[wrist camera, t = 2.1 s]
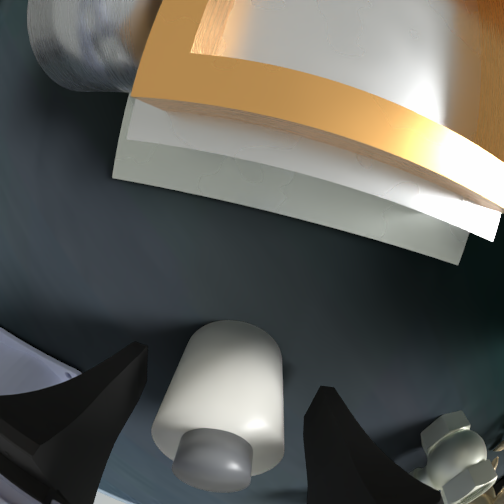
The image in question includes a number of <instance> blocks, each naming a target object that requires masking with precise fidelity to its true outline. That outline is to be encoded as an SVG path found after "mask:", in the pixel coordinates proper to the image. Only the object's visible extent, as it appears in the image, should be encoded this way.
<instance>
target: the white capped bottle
mask: <svg viewBox="0 0 504 504" xmlns="http://www.w3.org/2000/svg"><path fill="white" fill-rule="evenodd" d="M151 432H152V437H153V440H154V442H155V444H156V445H157V447H158V448H159V449H160V450H161V451H162V452H163V453H164V454H165V455H166V456H167V457H168V458H170V459H171V460H173V461H174V462H173V465H172V471H173V473H174V475H175V476H176V477H177V478H178V479H180V480H181V481H183V482H184V483H186V484H188V485H190V486H193V487H196V488H199V489H202V490H206V491H212V492H235V491H240V490H242V489H245V488H246V487H248V486H249V484H250V482H251V476H254V475H258V474H261V473H264V472H266V471H268V470H270V469H272V468H273V467H275V466H276V465H277V464H278V463H279V462H280V461H281V459H282V457H283V455H284V404H283V369H282V355H281V351H280V348H279V346H278V345H277V343H276V341H275V340H274V339H273V338H272V337H271V336H270V335H269V334H268V333H267V332H265V331H264V330H262V329H261V328H259V327H257V326H255V325H252V324H250V323H246V322H242V321H237V320H222V321H216V322H212V323H209V324H207V325H205V326H203V327H201V328H200V329H198V330H197V331H196V332H195V333H194V334H193V335H192V336H191V338H190V340H189V342H188V344H187V346H186V348H185V351H184V353H183V355H182V358H181V360H180V362H179V364H178V367H177V369H176V371H175V374H174V376H173V378H172V380H171V383H170V385H169V387H168V390H167V392H166V394H165V397H164V399H163V401H162V404H161V406H160V408H159V411H158V413H157V415H156V418H155V420H154V422H153V425H152V430H151Z"/></svg>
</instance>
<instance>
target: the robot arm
mask: <svg viewBox="0 0 504 504" xmlns="http://www.w3.org/2000/svg"><path fill="white" fill-rule="evenodd" d="M147 358H148V346H146V345H143V344H140V343H137V342H133V343H131V344H130V345H128V346H127V347H125V348H124V349H122V350H121V351H119V352H118V353H116V354H115V355H113V356H112V357H110V358H108V359H107V360H105V361H104V362H102V363H100V364H99V365H97V366H95V367H93V368H92V369H90V370H88V371H86V372H84V373H81V372H80V371H78V370H77V369H75V368H73V367H70V366H68V365H66V364H64V363H62V362H60V361H58V360H56V359H54V358H52V357H51V356H49V355H47V354H45V353H43V352H41V351H39V350H38V349H36V348H34V347H32V346H30V345H29V344H27V343H25V342H24V341H22V340H20V339H19V338H17V337H15V336H14V335H12V334H10V333H9V332H7V331H6V330H4V329H3V328H1V327H0V504H93V503H94V499H95V496H96V492H97V489H98V486H99V483H100V480H101V477H102V474H103V471H104V469H105V466H106V463H107V460H108V458H109V455H110V453H111V451H112V448H113V446H114V443H115V441H116V439H117V437H118V435H119V434H120V432H121V430H122V429H123V427H124V425H125V423H126V422H127V420H128V418H129V416H130V415H131V413H132V411H133V409H134V408H135V406H136V404H137V402H138V401H139V399H140V396H141V394H142V392H143V389H144V387H145V384H146V382H147ZM303 438H304V449H305V459H306V469H307V480H308V492H307V504H444V501H443V498H442V495H441V493H440V491H438V490H436V489H434V488H432V487H430V486H428V485H426V484H424V483H422V482H421V481H419V480H417V479H416V478H414V477H413V476H411V475H410V474H408V473H407V472H406V471H404V470H403V469H402V468H400V467H399V466H398V465H397V464H395V463H394V462H393V461H392V460H391V459H390V458H389V457H387V456H386V455H385V454H384V453H383V452H382V451H381V450H380V449H379V448H378V447H377V445H376V444H375V443H374V442H373V441H372V440H371V439H370V437H369V436H368V435H367V434H366V433H365V431H364V430H363V429H362V427H361V426H360V425H359V423H358V422H357V421H356V419H355V418H354V416H353V415H352V414H351V412H350V411H349V409H348V408H347V406H346V405H345V403H344V402H343V400H342V399H341V397H340V396H339V394H338V393H337V391H336V390H335V388H334V387H326V386H320V388H319V390H318V392H317V393H316V395H315V397H314V399H313V401H312V403H311V405H310V407H309V408H308V410H307V412H306V414H305V416H304V431H303Z"/></svg>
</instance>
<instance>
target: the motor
mask: <svg viewBox="0 0 504 504" xmlns="http://www.w3.org/2000/svg"><path fill="white" fill-rule="evenodd" d="M27 25H28V33H29V38H30V43H31V46H32V49H33V52H34V55H35V57H36V59H37V61H38V63H39V64H40V66H41V68H42V69H43V70H44V72H45V73H46V74H47V75H48V76H49V77H50V78H51V79H52V80H53V81H54V82H55V83H57V84H58V85H60V86H61V87H63V88H66V89H68V90H71V91H77V92H129V96H128V100H127V104H126V108H125V112H124V117H123V121H122V126H121V131H120V135H119V140H118V146H117V151H116V157H115V163H114V169H113V175H112V178H115V179H121V180H126V181H131V182H137V183H142V184H147V185H152V186H157V187H162V188H167V189H172V190H177V191H182V192H187V193H191V194H196V195H201V196H205V197H210V198H214V199H219V200H223V201H228V202H232V203H236V204H240V205H245V206H249V207H253V208H257V209H262V210H266V211H270V212H274V213H278V214H282V215H286V216H290V217H294V218H298V219H301V220H305V221H309V222H313V223H317V224H321V225H324V226H328V227H332V228H335V229H339V230H343V231H346V232H350V233H353V234H357V235H361V236H364V237H368V238H371V239H374V240H378V241H381V242H385V243H388V244H391V245H395V246H398V247H401V248H405V249H408V250H411V251H414V252H418V253H421V254H424V255H427V256H430V257H433V258H437V259H440V260H443V261H446V262H449V263H452V264H455V265H458V264H459V262H460V259H461V256H462V253H463V250H464V248H465V245H466V242H467V238H468V235H469V232H472V233H474V234H476V235H478V236H481V237H483V238H485V239H487V240H489V241H492V242H493V240H494V237H495V234H496V230H497V227H498V223H499V220H500V216H501V213H503V214H504V0H28V9H27Z"/></svg>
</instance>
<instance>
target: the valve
mask: <svg viewBox="0 0 504 504" xmlns="http://www.w3.org/2000/svg"><path fill="white" fill-rule="evenodd" d="M421 443H422V447H423V449H424V451H425V454H426V456H427V459H428V460H427V466H425V467H424V468H416V469H414V470H413V471H411V472H410V473H408V474H410V475H411V476H413V477H414V478H416V479H417V480H419V481H421V482H422V483H424V484H426V485H428V486H430V487H432V488H434V489H436V490H441V495H442V498H443V501H444V504H468V503H469V502H471V501H473V500H474V499H476V498H477V497H479V496H480V495H482V494H483V493H484V492H486V491H487V490H488V489H489V488H490V487H491V486H492V485H493V484H494V483H495V482H496V479H497V474H496V472H495V470H494V468H493V466H492V464H491V462H490V460H489V459H488V460H486V458H487V450H486V445H485V443H484V441H483V439H482V438H481V437H480V436H479V435H478V434H477V433H476V432H474V431H472V430H470V423H469V422H468V420H467V418H466V417H465V415H464V413H463V411H457V412H452V413H448V414H444V415H442V416H440V417H439V418H438V419H436V420H435V421H434V422H433V423H432V424H431V425H429V426H428V427H427V428H426V429H425V430H423V431H422V432H421Z"/></svg>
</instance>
